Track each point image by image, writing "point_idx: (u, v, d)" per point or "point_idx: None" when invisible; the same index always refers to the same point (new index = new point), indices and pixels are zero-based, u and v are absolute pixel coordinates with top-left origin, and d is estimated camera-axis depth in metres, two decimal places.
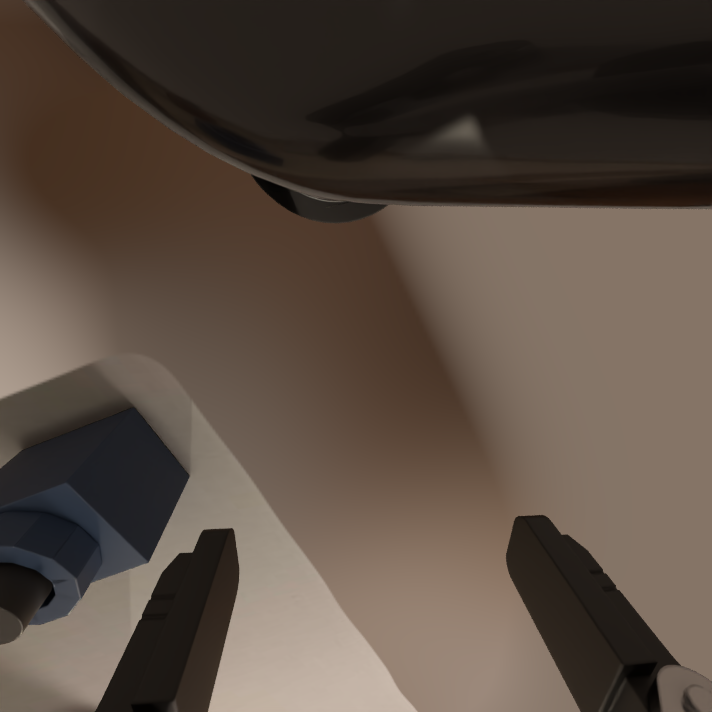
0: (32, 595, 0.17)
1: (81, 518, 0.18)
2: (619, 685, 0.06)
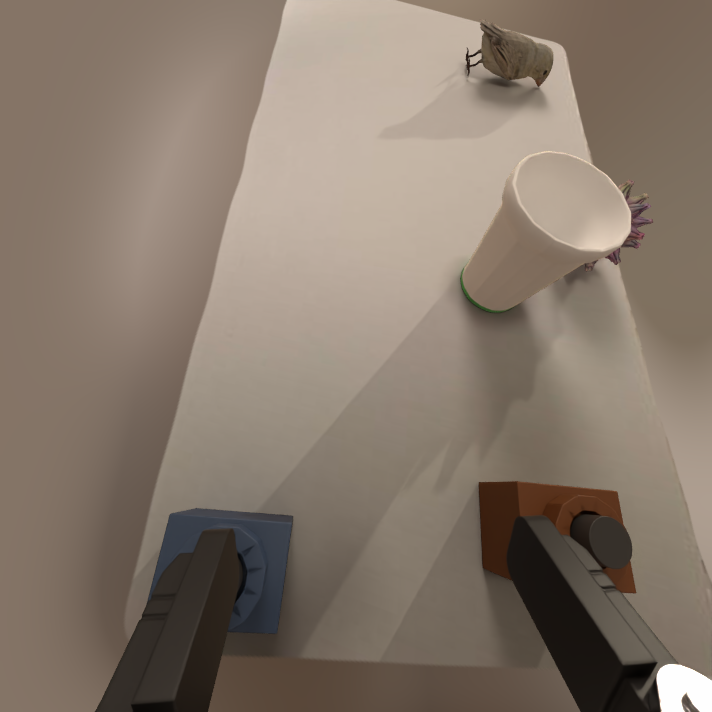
0: None
1: None
2: (619, 685, 0.06)
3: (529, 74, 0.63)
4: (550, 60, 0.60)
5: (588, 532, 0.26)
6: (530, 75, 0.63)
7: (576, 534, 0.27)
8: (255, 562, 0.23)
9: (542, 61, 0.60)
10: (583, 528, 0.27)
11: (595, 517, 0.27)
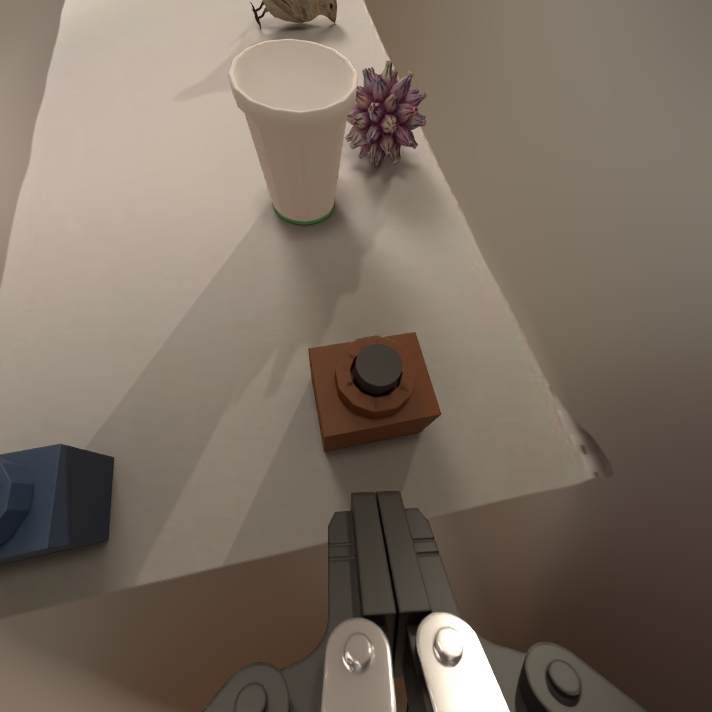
0: None
1: None
2: (402, 632, 0.07)
3: (318, 12, 0.64)
4: None
5: None
6: (319, 13, 0.65)
7: (354, 371, 0.27)
8: None
9: None
10: None
11: (364, 347, 0.27)
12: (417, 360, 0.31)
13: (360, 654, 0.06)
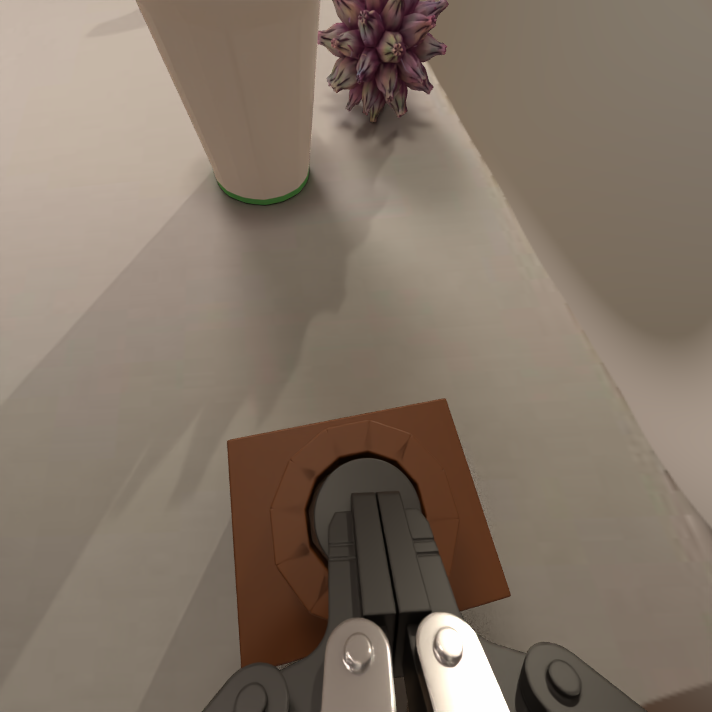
0: None
1: None
2: (402, 632, 0.07)
3: None
4: None
5: (314, 508, 0.11)
6: None
7: None
8: None
9: None
10: None
11: (335, 470, 0.12)
12: (452, 462, 0.15)
13: (360, 654, 0.06)
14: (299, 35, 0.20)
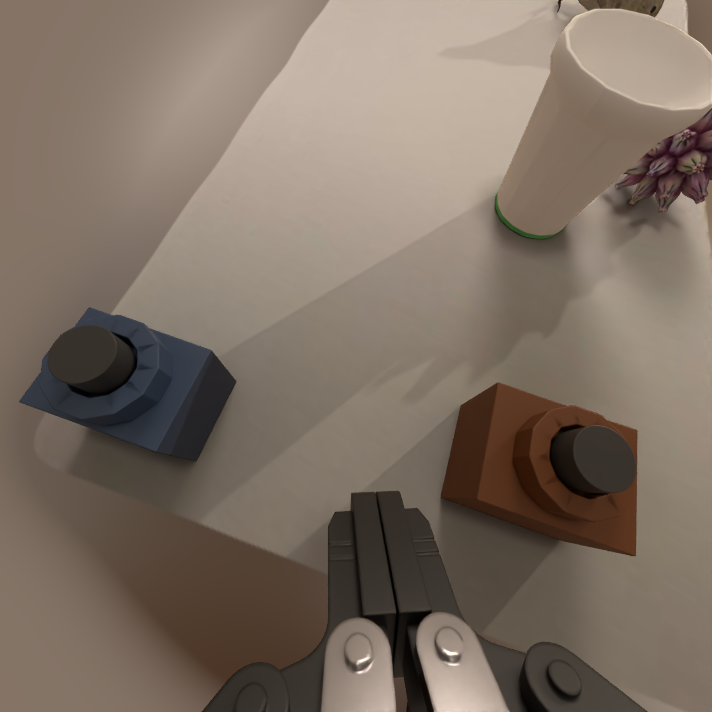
0: None
1: None
2: (402, 632, 0.07)
3: None
4: None
5: (574, 438, 0.19)
6: None
7: (559, 445, 0.20)
8: (148, 360, 0.20)
9: None
10: (569, 436, 0.20)
11: None
12: None
13: (360, 654, 0.06)
14: (647, 150, 0.27)
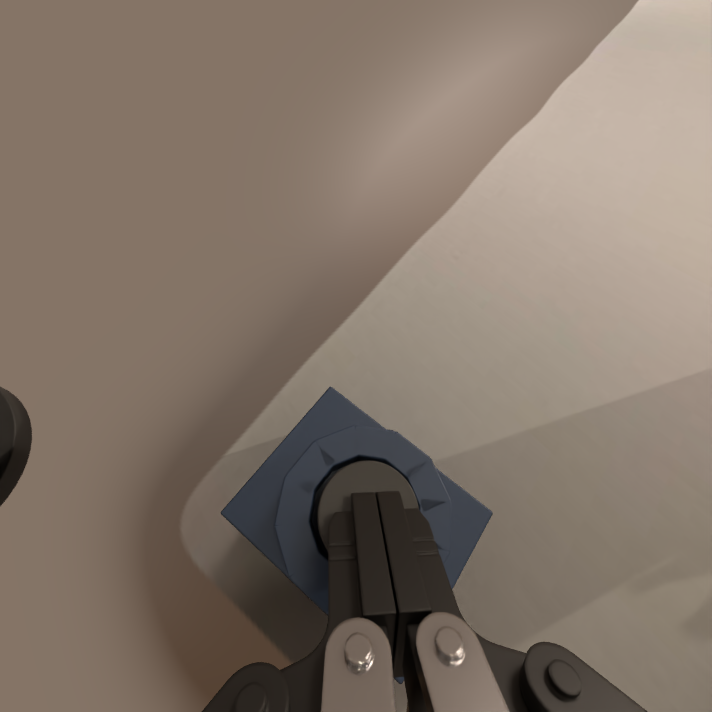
0: None
1: (276, 479, 0.14)
2: (402, 632, 0.07)
3: None
4: None
5: None
6: None
7: None
8: (436, 532, 0.12)
9: None
10: None
11: None
12: None
13: (360, 654, 0.06)
14: None
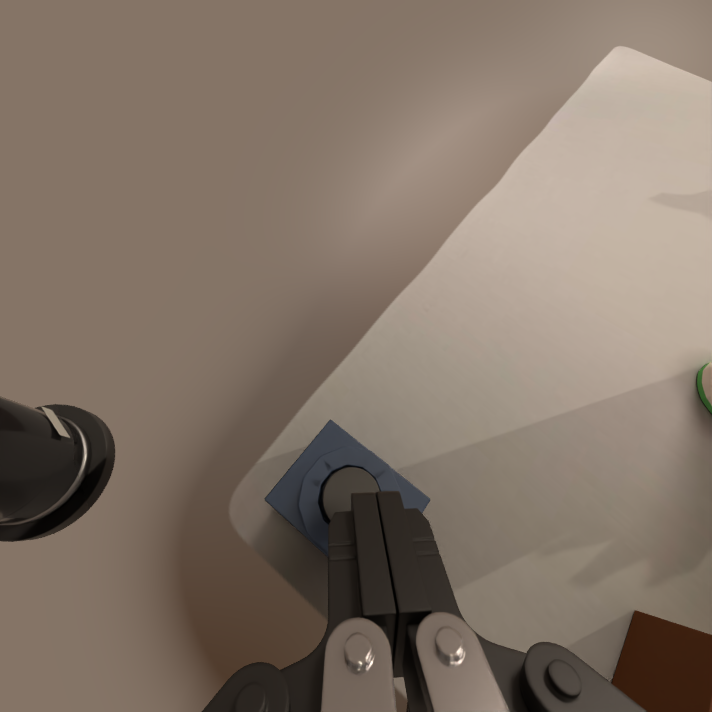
0: None
1: (297, 478, 0.24)
2: (402, 632, 0.07)
3: None
4: None
5: None
6: None
7: None
8: None
9: None
10: None
11: None
12: None
13: (360, 654, 0.06)
14: None
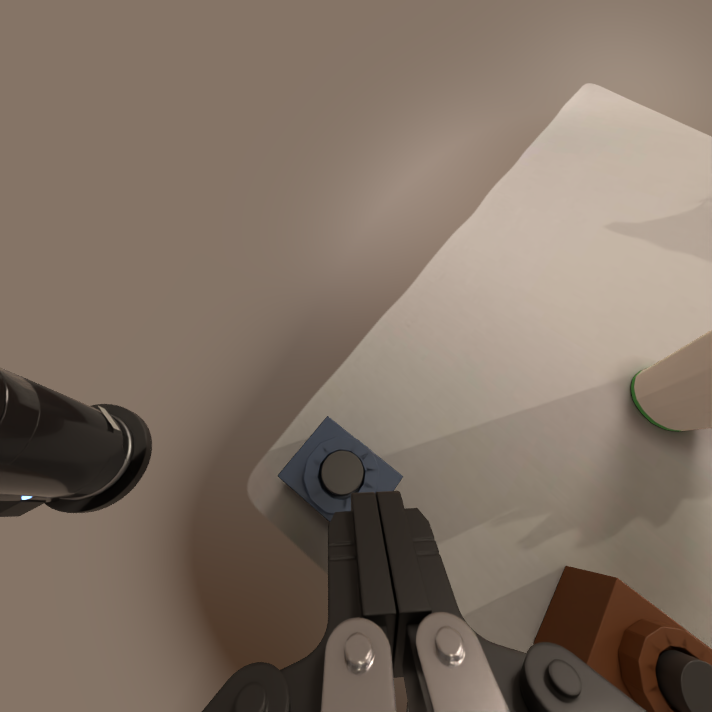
0: None
1: (302, 460, 0.31)
2: (402, 632, 0.07)
3: None
4: None
5: (683, 665, 0.24)
6: None
7: (666, 662, 0.25)
8: (371, 481, 0.29)
9: None
10: (678, 660, 0.25)
11: (698, 659, 0.24)
12: None
13: (360, 654, 0.06)
14: None
